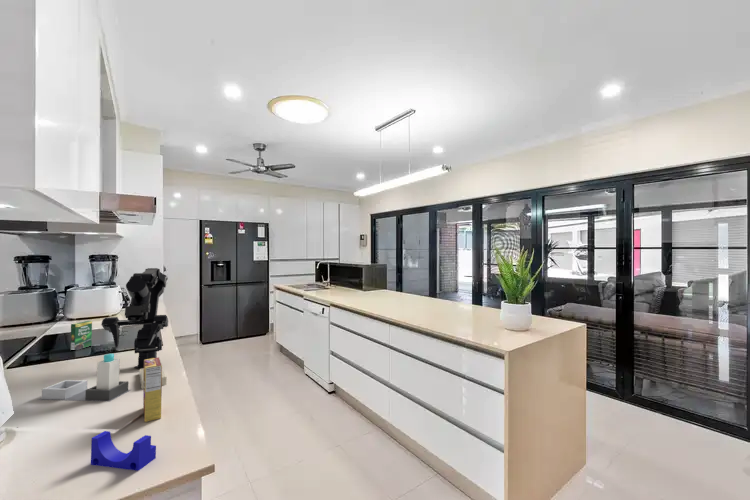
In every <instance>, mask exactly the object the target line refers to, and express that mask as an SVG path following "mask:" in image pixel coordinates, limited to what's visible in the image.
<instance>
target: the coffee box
mask: <svg viewBox="0 0 750 500" xmlns="http://www.w3.org/2000/svg"><path fill="white" fill-rule="evenodd" d="M92 338H93V321H92V320H86V321H81V322H76V323H70V349H69V350H70V351H71V350H77V349H81V348H85V347H88V346H92V344H93V341H92ZM85 349H86V348H85ZM81 350H82V349H81Z"/></svg>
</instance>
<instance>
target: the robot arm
mask: <svg viewBox="0 0 750 500" xmlns="http://www.w3.org/2000/svg"><path fill="white" fill-rule="evenodd" d="M166 287H167V277H166V275H165V274H164V273H163V272H162V271H161V269H160V268H157V267H154V268H153V267H151V268H149V267H147V268H145V270H144V271H143V272H140V273H138V272H136V273H135V272H134V273H133V275H132V276H131V275H130V278H129V280H128V281H127V282H126V284H125V288H126V290H127V293H128V294H129V297H131V298H130V303H129V306H127V305H126V306H125V308H124V316H125V319H119V317H118V316H112V317H104V318H103V319H102V320H101V324H100V326H101V328H103V329H104V331H108V332H109V333H111V335H112V337H113V344H114V347H115V349H118V348H119V343H120V333H121V330H120V328H121V327H125V326H141V325H142V327H141V328H140V329H138V331H137V335H136V338H134V342H133V343H134V345H133V347H134V354H138V358H137V359H138V361H137V365H135V366H134V369H143V368H144V360H146V359H152V358H158V357H157V352H159V351H162V350H163V344H162V343H163V342H162V339H161V336H159V335H160V334H159V332H160V331H161V330H164V328H168V327H169V318H168V316H167V314H158V310H159V309H158V308H159V300H160V297H161V296H162V295H163V293H164V291H165V288H166Z"/></svg>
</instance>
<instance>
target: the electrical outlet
mask: <svg viewBox="0 0 750 500" xmlns="http://www.w3.org/2000/svg"><path fill="white" fill-rule="evenodd" d="M138 374H139V380H140V387H141V390H143V378H144V368H139V372H138ZM167 380H168V379H167V374H166V372H165V369H164V368H163V366H162V386H167V384H168V383H167V382H168V381H167Z"/></svg>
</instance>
